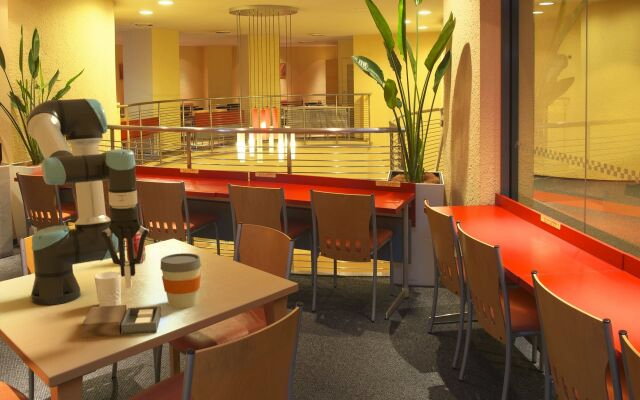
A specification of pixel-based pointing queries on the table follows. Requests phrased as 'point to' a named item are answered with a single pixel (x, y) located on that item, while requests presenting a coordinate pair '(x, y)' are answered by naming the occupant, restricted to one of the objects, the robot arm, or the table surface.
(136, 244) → the soda can
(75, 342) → the table surface
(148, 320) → the cream tile
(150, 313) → the cream tile
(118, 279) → the white cup
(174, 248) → the table surface
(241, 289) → the table surface
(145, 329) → the box
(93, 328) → the walnut block
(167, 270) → the reusable coffee cup
